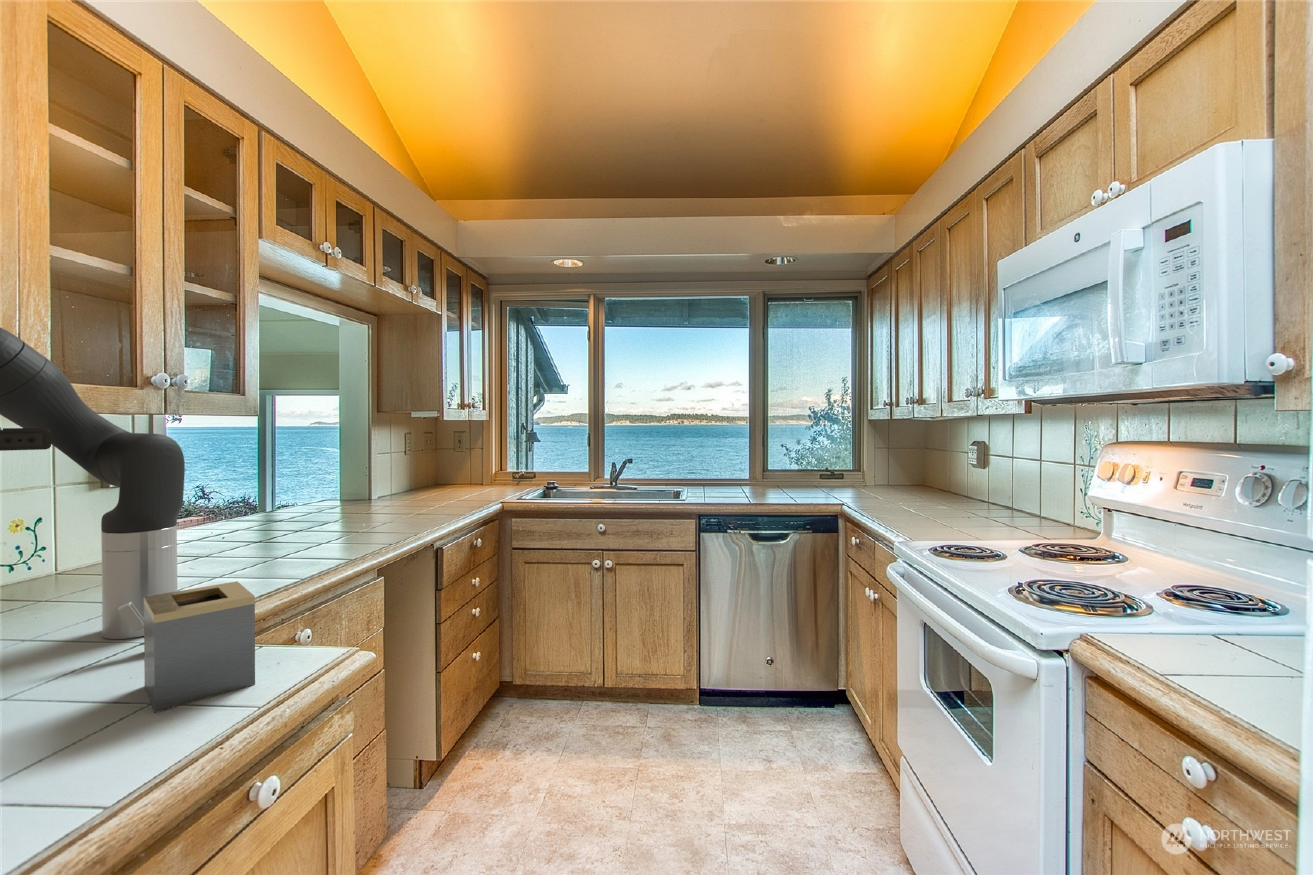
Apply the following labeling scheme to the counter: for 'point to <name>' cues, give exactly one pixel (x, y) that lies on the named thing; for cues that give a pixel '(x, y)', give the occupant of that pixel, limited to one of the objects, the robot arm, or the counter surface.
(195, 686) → the coin box
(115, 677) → the counter surface
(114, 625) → the robot arm
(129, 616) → the lighter
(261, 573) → the counter surface
